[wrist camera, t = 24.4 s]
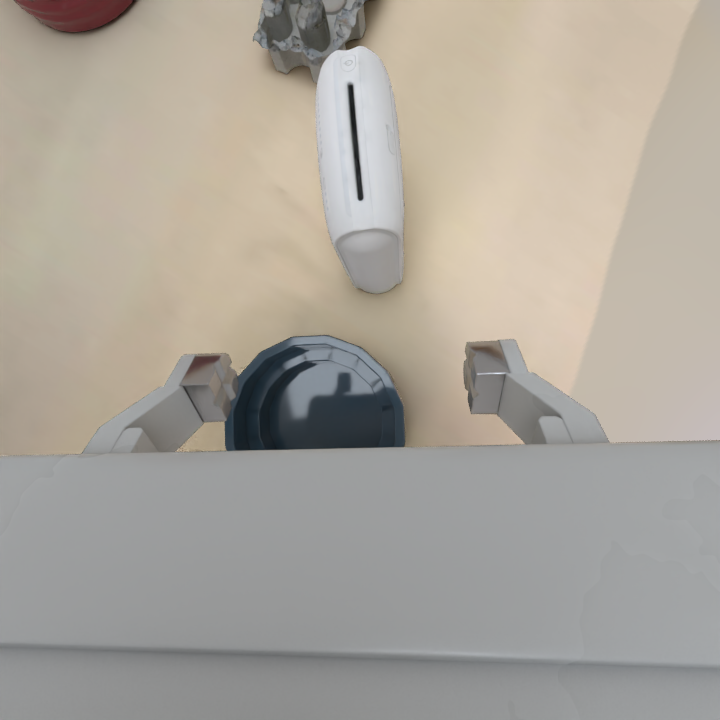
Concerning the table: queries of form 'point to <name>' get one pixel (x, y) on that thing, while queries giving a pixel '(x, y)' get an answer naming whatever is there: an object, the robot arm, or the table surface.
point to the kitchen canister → (74, 12)
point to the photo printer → (361, 167)
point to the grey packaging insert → (308, 30)
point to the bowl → (315, 399)
